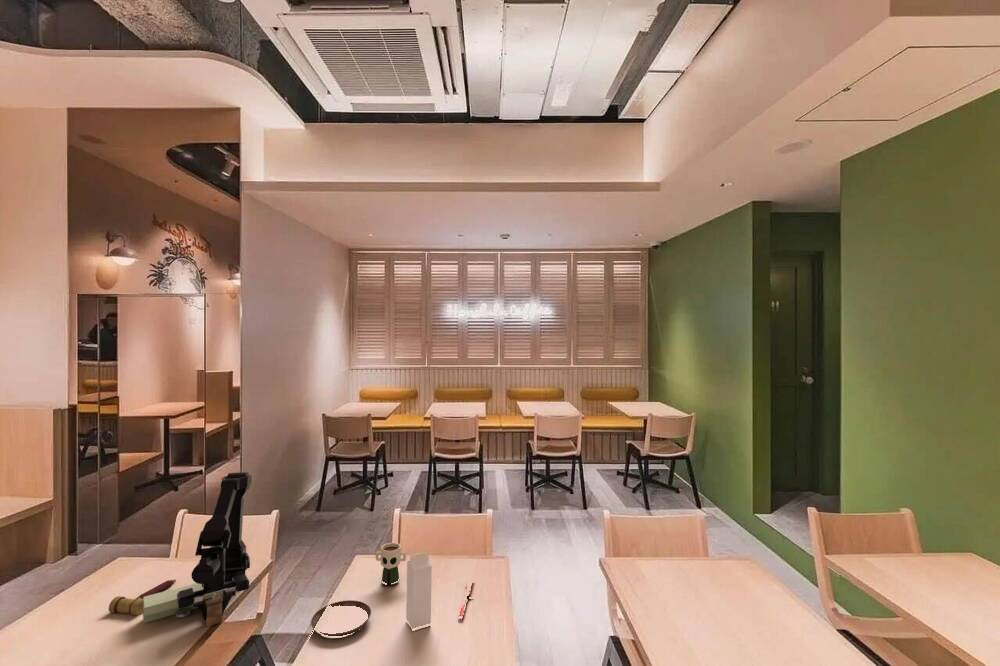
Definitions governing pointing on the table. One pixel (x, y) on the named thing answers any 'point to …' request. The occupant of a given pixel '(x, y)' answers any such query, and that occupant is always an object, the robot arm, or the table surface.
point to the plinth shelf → (166, 603)
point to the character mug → (390, 561)
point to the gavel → (136, 600)
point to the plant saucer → (342, 603)
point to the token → (183, 613)
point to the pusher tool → (213, 611)
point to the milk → (419, 590)
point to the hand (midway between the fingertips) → (213, 617)
